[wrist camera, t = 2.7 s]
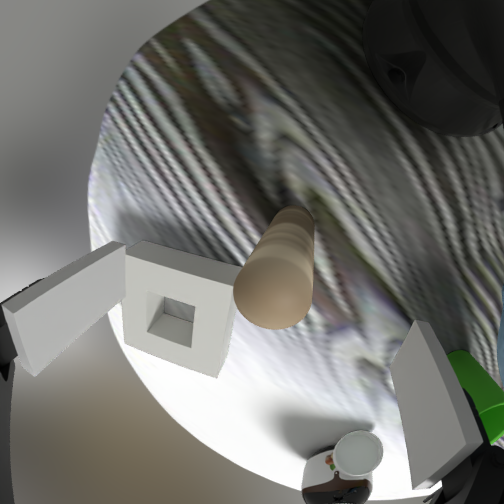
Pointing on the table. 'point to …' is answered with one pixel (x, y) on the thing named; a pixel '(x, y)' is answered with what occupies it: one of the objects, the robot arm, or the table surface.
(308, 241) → the peg
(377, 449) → the spread jar
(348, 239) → the table surface
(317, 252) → the table surface
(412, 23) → the robot arm
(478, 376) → the cup
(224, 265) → the socket block
